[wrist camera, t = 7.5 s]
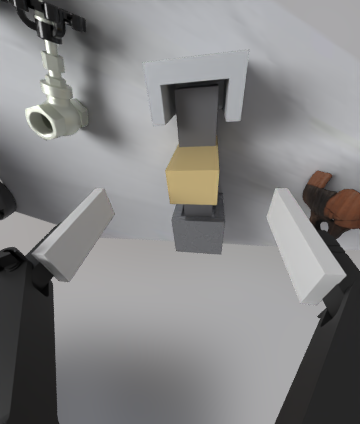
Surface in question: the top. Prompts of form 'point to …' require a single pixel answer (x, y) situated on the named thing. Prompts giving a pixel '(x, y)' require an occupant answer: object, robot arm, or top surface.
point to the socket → (196, 82)
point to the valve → (53, 72)
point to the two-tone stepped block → (195, 151)
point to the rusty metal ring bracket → (331, 205)
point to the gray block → (199, 230)
